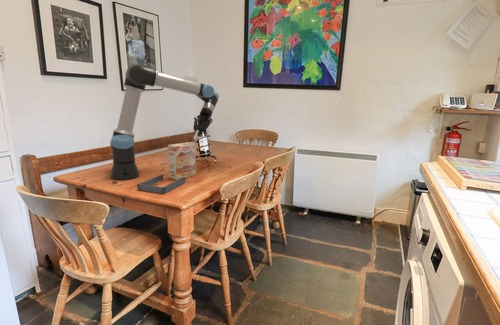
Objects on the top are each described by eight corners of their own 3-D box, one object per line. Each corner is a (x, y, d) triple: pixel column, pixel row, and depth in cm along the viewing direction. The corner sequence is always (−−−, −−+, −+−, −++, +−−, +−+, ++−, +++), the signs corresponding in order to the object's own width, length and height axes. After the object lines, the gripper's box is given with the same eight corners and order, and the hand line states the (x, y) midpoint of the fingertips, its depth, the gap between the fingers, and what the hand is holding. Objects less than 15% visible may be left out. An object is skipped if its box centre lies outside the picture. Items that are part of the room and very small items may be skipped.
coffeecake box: (176, 180, 160) (175, 146, 156) (168, 178, 165) (167, 144, 160) (196, 175, 172) (195, 143, 168) (188, 173, 176) (187, 141, 172)
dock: (137, 190, 143) (137, 184, 142) (161, 179, 162) (161, 174, 161) (163, 194, 138) (163, 188, 138) (185, 182, 157) (185, 177, 156)
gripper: (217, 115, 189) (206, 143, 178) (200, 114, 193) (188, 142, 182) (214, 107, 183) (202, 136, 172) (196, 106, 187) (183, 135, 176)
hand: (195, 139), depth 177 cm, fingers closed
